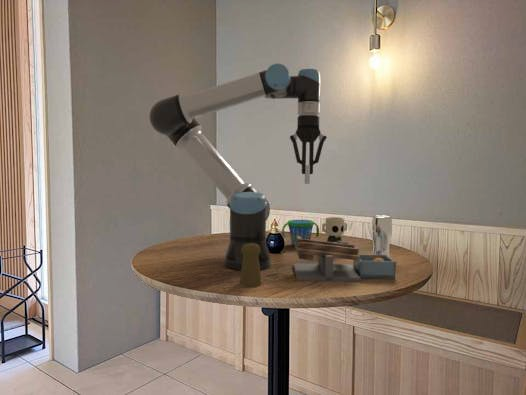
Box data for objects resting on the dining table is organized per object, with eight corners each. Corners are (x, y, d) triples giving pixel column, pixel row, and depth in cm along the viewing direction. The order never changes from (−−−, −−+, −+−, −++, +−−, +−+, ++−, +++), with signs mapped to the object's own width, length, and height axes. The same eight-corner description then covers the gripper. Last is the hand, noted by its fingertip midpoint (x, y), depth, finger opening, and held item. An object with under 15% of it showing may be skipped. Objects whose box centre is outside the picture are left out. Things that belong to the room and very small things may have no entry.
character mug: (326, 254, 146) (327, 219, 145) (317, 250, 153) (317, 217, 152) (351, 252, 150) (352, 218, 149) (341, 249, 157) (342, 216, 156)
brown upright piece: (261, 280, 111) (261, 241, 110) (261, 286, 105) (262, 246, 104) (239, 280, 111) (240, 241, 110) (239, 286, 105) (239, 245, 104)
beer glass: (392, 261, 137) (393, 218, 136) (371, 260, 139) (372, 217, 137) (389, 256, 144) (391, 216, 143) (370, 255, 145) (371, 215, 144)
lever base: (297, 280, 112) (297, 255, 111) (293, 266, 128) (294, 245, 127) (360, 281, 112) (361, 256, 111) (349, 267, 127) (350, 245, 127)
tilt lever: (296, 260, 113) (298, 240, 113) (292, 246, 133) (294, 230, 133) (358, 267, 113) (361, 248, 113) (345, 252, 133) (347, 236, 133)
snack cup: (283, 248, 158) (284, 222, 157) (279, 243, 168) (280, 219, 167) (322, 247, 159) (322, 222, 158) (315, 243, 170) (316, 219, 169)
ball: (385, 274, 117) (372, 271, 117) (382, 270, 121) (369, 267, 121) (388, 261, 117) (375, 258, 117) (385, 257, 121) (372, 255, 121)
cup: (359, 278, 115) (360, 261, 115) (353, 270, 124) (353, 254, 124) (395, 278, 115) (395, 261, 114) (385, 270, 124) (386, 254, 124)
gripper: (290, 114, 133) (289, 183, 135) (328, 114, 133) (327, 184, 135) (289, 116, 141) (287, 183, 143) (325, 117, 141) (324, 183, 142)
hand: (307, 183), depth 139 cm, fingers closed
